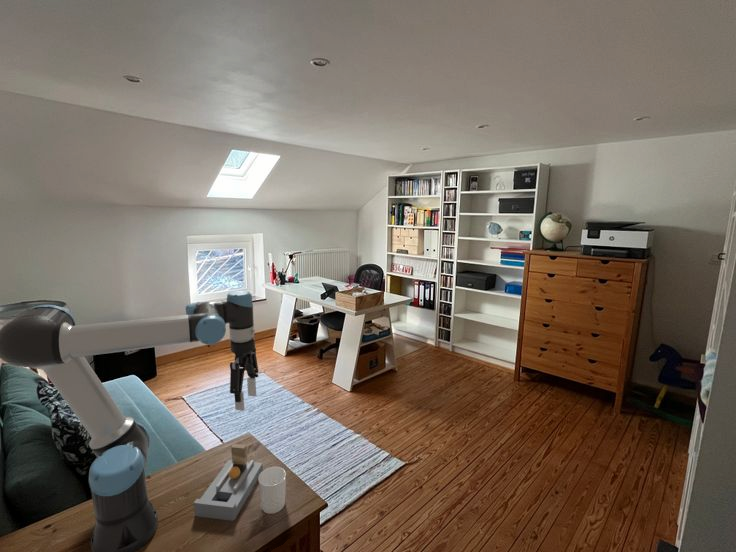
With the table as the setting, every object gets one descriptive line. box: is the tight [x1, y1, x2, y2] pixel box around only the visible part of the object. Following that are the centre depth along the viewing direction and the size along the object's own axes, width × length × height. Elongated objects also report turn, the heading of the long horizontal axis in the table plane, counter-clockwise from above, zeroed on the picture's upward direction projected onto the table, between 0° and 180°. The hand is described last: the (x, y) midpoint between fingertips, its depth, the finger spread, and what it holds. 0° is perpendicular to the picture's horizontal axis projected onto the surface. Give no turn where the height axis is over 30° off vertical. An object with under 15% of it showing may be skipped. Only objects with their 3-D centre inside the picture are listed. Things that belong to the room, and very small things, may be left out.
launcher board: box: [193, 459, 264, 522], centre depth 113 cm, size 20×12×4 cm, turn 173°
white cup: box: [257, 466, 287, 515], centre depth 108 cm, size 8×8×10 cm
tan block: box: [230, 443, 248, 472], centre depth 118 cm, size 2×4×8 cm, turn 83°
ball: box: [229, 467, 240, 479], centre depth 115 cm, size 4×4×4 cm
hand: (246, 402), depth 122 cm, fingers open, 8 cm apart
